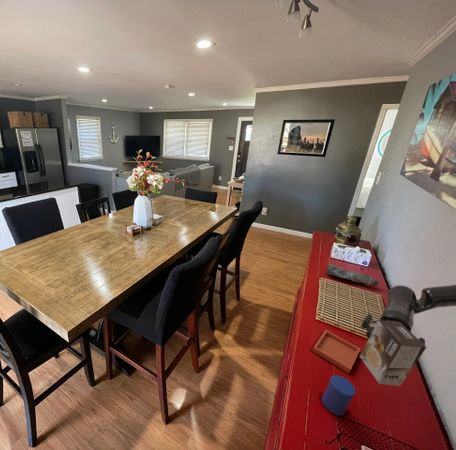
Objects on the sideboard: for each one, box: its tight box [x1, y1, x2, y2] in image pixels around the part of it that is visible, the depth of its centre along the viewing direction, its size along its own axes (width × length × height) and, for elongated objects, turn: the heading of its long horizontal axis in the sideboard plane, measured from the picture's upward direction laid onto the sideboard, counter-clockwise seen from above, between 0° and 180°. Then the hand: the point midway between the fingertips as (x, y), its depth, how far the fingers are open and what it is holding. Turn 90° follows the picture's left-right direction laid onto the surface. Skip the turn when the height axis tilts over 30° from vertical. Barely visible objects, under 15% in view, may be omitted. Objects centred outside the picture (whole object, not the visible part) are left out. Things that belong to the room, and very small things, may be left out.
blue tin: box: [321, 374, 356, 416], centre depth 77 cm, size 6×6×10 cm
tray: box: [312, 329, 361, 374], centre depth 98 cm, size 13×15×2 cm
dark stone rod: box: [325, 263, 379, 287], centre depth 145 cm, size 13×7×25 cm
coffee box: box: [359, 319, 427, 387], centre depth 70 cm, size 9×6×16 cm
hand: (387, 345), depth 72 cm, fingers closed on coffee box, 8 cm apart
